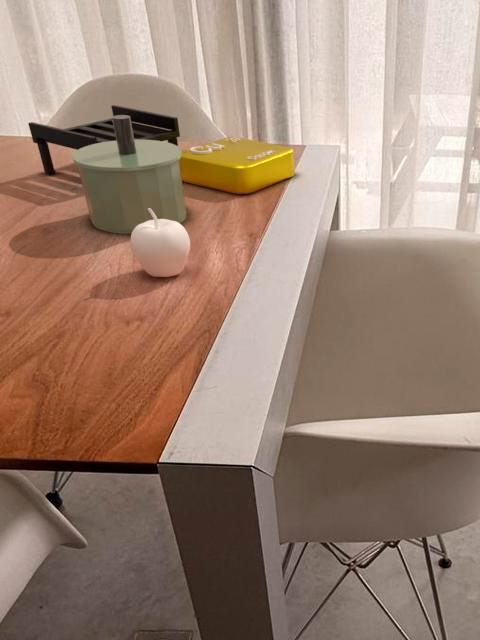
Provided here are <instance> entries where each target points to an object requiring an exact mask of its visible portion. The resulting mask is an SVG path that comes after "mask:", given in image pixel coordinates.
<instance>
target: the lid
mask: <svg viewBox="0 0 480 640" xmlns="http://www.w3.org/2000/svg"><path fill="white" fill-rule="evenodd" d="M111 119H112V121H113V126H114V131H115V136H116V141H108V142H102V143H97V144H92V145H89V146H86V147H83V148H81V149H78V150H76V151H74V152H73V153H72V156H71V157H72V161H73V163H74V164H75V165H77V166H78V165H79V166H81V167H84V168H88V169H93V170H100V171H136V170H145V169H152V168H157V167H161V166H165V165H168V164H171V163H173V162H175V161H177V160H179V159H180V158H181V156H182V151H183V150H182V149H181V147H180V146H179V145H178V146H176V145H174V144H171V143H168V141H156V140H139V139H136V140H134V135H133V130H132V124H131V118H130V116H128V115H117V116H113V115H112V117H111Z"/></svg>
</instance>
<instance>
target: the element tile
mask: <svg viewBox="0 0 480 640" xmlns="http://www.w3.org/2000/svg"><path fill="white" fill-rule="evenodd" d="M181 151H182V156H181V158H180V159H179V163H180V170H181V177H182V182H184V183H187V184H191V185H195V186H201V187H204V188H209V189H212V190H217V191H222V192H227V193H229V194H230V193H231V194H233V195H250V194H253V193H256V192H258V191H261V190H264V189H266V188H268V187H270V186H273V185H275V184H278V183H280V182H282V181H286V180H287V179H290V178H292V177H293V176H294V175H295V155H294V149H293V148H292V147H290V146H286V145H280V144H275V143H269V142H264V141H259V140H253V139H248V138H244V137H238V136H227V137H224V138H220V139H217V140H214V141H211V142H208V143H205V144H201V145H198V146H197V145H196V146H192V147H190V148H188V149H185V150H181Z"/></svg>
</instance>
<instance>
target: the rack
mask: <svg viewBox="0 0 480 640" xmlns="http://www.w3.org/2000/svg"><path fill="white" fill-rule="evenodd" d="M110 107H111V111H112V117H113V116H117V115H128V116H130V118H131V124H132V130H133V135H134V140H136V139H139V140H156V141H163V142H166V141H167V142H168V143H171V144H174V145H176V146H178V147H179V143H178V138H179V137H181V134H180V133H181V132H180V127H179V119H178V117H176V116H171V115H166V114H161V113H156V112H151V111H147V110H141V109H136V108H131V107H126V106H121V105H116V104H113V105H110ZM27 124H28V128H29V132H30V136H31V140H32V143H33V144H37V148H38V151H39V155H40V160H41V163H42V167H43V171H44V174H45V175H48V176H53V175H56V171H55V166H54V163H53V159H52V155H51V151H50V147H49V144H52V145H56V146H59V147H60V146H61V147H65V148H68V149H73V150H76V151H77V150H78V149H81V148H83V147H86V146H89V145H92V144H97V143H102V142H108V141H116V136H115V131H114V126H113V121H112V118H108V119H107V118H106V119H103V120H99V121H94V122H90V123H89V122H88V123H85V124H81V125H76V126H72V127H67V128H59V127H54V126H50V125H46V124H42V123H38V122H34V121H31V122H28V123H27Z"/></svg>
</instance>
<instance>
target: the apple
mask: <svg viewBox="0 0 480 640" xmlns="http://www.w3.org/2000/svg"><path fill="white" fill-rule="evenodd" d="M148 210H149V212H150V213H151V215H152V217H153V219H154V220H149V221H146V222H144V223H141V224H139V225H137V226H136V227H135V228H134V230H133V232H132V234H130V244H129V245H130V248H131V251H132V254H133V256H134V257H135V258H136V260H137V261H138V263H139V264H140V265H141V267H142V268H143V269H144V271H145V272H146V273H147V274H148V275H150V276H151V277H154V278H170V277H174V276H178V275H180V274H181V273H182V272H183V270H184V269H185V267H186V264H187V260H188V257H189V255H190V250H191V239H190V238H191V237H190V235H189V233H188V232H187V230H186V228H185V227H184V226H183V225H182V224H181V223H178V222H176V221H172V220H167V219H157V217H156V215H155V214H154V212H153V211H152V210H151V208H149V209H148Z"/></svg>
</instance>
